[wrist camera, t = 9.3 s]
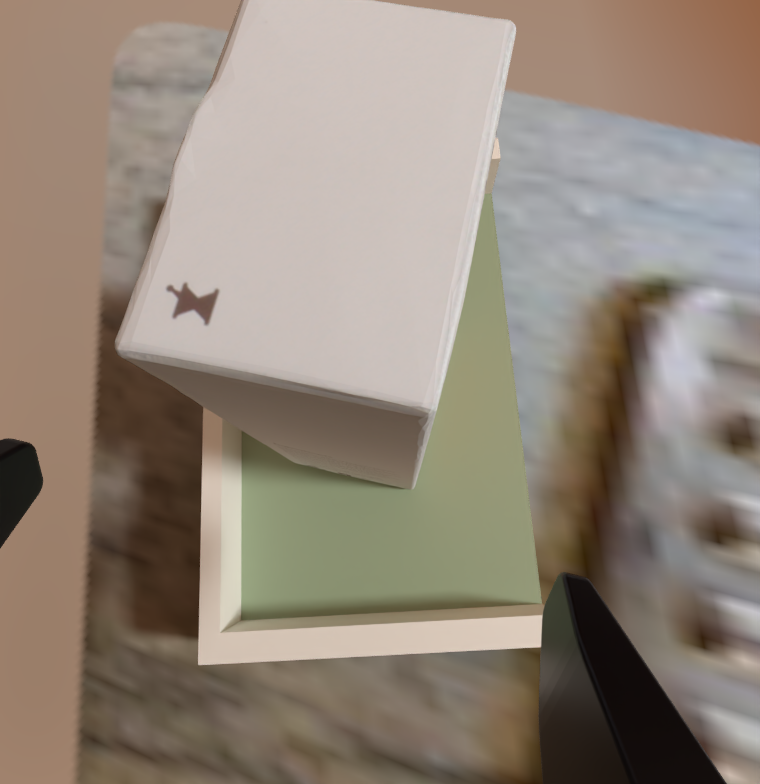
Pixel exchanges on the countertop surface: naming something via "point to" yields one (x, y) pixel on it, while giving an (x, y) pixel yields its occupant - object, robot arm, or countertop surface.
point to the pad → (381, 523)
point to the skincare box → (325, 228)
